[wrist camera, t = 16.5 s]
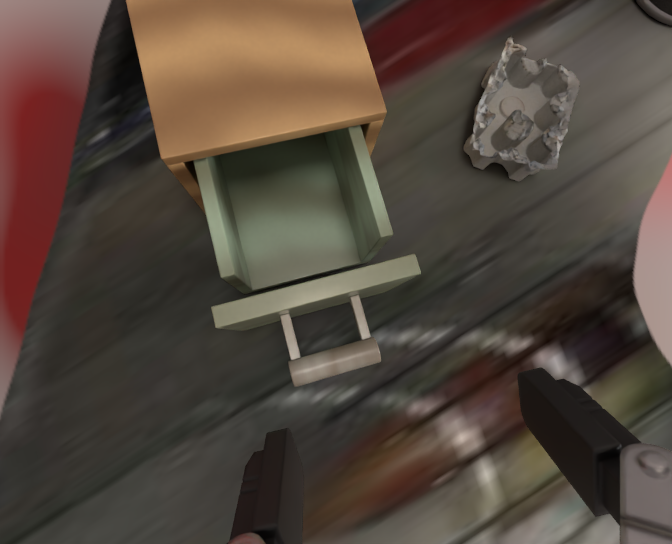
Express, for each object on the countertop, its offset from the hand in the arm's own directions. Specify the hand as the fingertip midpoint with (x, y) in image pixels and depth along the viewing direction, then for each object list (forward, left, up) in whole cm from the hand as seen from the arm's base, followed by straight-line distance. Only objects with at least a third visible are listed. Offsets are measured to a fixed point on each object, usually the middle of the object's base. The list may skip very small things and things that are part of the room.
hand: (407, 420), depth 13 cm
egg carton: (-2, -26, -17) cm, 31 cm away
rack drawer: (+8, -6, -16) cm, 19 cm away
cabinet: (+17, -15, -17) cm, 28 cm away
